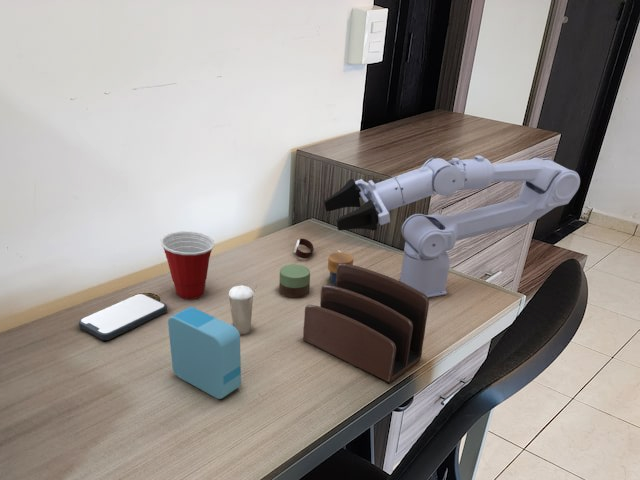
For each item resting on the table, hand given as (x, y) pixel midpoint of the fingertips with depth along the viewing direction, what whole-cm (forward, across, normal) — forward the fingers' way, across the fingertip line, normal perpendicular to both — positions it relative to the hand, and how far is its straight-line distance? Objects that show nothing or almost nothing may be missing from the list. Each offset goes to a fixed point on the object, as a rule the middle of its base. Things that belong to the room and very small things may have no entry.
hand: (330, 215), depth 119 cm
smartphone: (+45, +1, +6) cm, 45 cm away
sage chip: (+10, -3, +14) cm, 17 cm away
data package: (+32, +25, +7) cm, 42 cm away
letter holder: (+4, +22, +15) cm, 27 cm away
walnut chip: (+10, -3, +16) cm, 20 cm away
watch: (+4, -20, +21) cm, 29 cm away
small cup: (0, -5, +20) cm, 20 cm away
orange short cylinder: (-1, -5, +17) cm, 18 cm away
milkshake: (+23, +11, +11) cm, 28 cm away
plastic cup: (+31, -7, +11) cm, 34 cm away
